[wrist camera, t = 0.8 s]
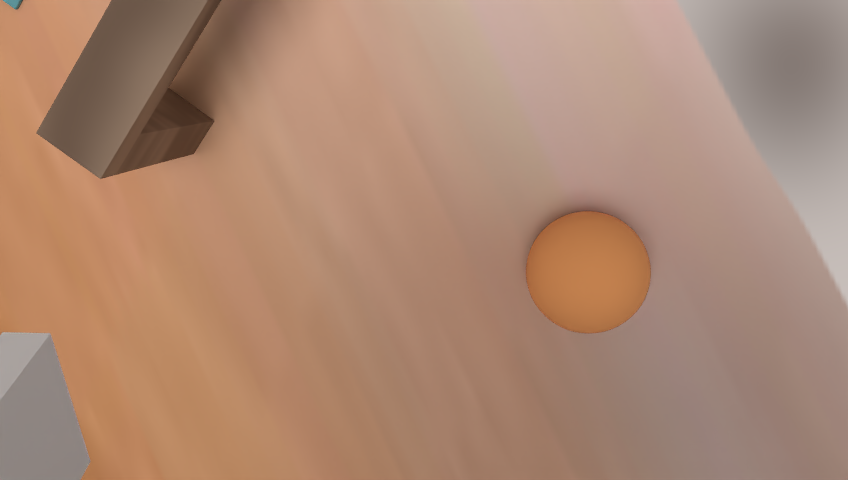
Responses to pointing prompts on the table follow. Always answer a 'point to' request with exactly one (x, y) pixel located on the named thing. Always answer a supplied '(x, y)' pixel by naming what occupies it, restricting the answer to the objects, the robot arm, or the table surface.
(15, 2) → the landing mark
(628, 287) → the ball
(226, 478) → the table surface
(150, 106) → the bridge
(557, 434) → the table surface
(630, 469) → the table surface
